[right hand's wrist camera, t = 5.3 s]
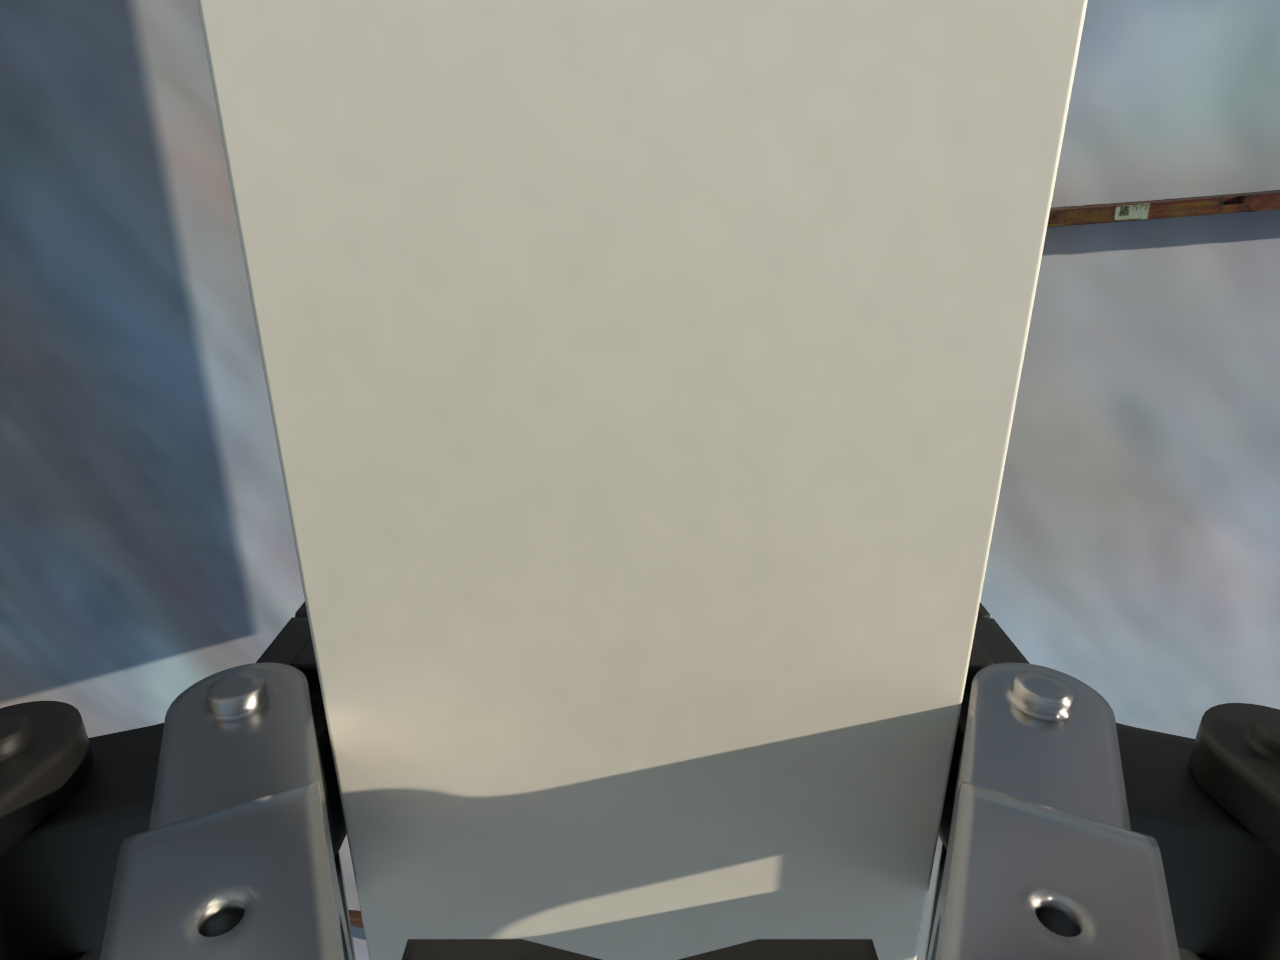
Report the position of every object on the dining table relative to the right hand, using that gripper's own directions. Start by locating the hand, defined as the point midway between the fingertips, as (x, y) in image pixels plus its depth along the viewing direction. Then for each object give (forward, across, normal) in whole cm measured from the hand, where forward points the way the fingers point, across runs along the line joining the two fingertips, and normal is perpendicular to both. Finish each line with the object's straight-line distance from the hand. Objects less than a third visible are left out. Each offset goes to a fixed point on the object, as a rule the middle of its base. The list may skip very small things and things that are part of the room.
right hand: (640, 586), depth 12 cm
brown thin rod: (+12, -18, -5) cm, 23 cm away
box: (+7, 0, -10) cm, 12 cm away
